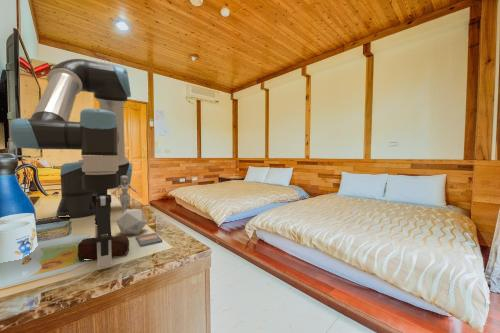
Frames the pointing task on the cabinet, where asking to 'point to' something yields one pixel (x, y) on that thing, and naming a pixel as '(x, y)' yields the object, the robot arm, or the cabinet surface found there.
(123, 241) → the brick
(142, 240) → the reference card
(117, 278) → the cabinet surface
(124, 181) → the human figurine
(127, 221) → the die
